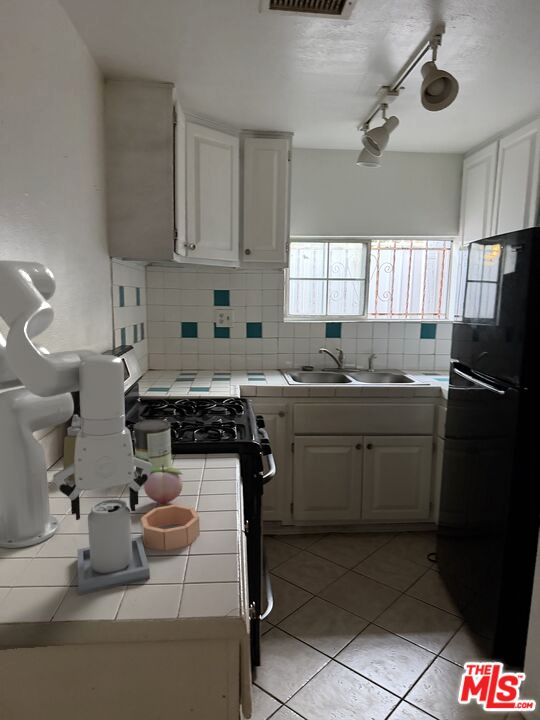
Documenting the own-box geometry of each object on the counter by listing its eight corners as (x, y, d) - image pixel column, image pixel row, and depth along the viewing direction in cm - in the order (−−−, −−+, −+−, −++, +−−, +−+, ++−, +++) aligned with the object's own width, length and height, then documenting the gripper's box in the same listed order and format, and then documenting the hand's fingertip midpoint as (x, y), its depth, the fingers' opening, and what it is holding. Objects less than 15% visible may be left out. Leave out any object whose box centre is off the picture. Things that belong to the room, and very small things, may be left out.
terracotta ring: (147, 554, 94) (146, 535, 94) (139, 528, 105) (138, 510, 104) (203, 542, 98) (203, 524, 98) (191, 518, 109) (190, 501, 108)
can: (120, 579, 85) (116, 516, 83) (82, 574, 87) (78, 512, 85) (139, 556, 92) (137, 498, 91) (104, 552, 94) (101, 494, 92)
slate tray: (79, 595, 82) (78, 584, 81) (78, 559, 93) (77, 549, 92) (149, 578, 86) (149, 568, 86) (140, 546, 97) (140, 536, 97)
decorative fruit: (184, 494, 121) (183, 457, 120) (183, 509, 113) (181, 469, 112) (146, 497, 120) (144, 459, 119) (142, 512, 112) (140, 471, 111)
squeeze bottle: (76, 485, 128) (71, 420, 125) (57, 479, 132) (52, 416, 129) (101, 475, 135) (97, 413, 132) (82, 469, 139) (78, 410, 136)
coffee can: (130, 478, 132) (128, 429, 130) (141, 464, 142) (139, 419, 140) (167, 478, 132) (165, 429, 130) (175, 465, 142) (174, 419, 140)
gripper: (49, 435, 79) (54, 530, 82) (155, 425, 85) (156, 514, 88) (51, 422, 86) (55, 510, 88) (148, 414, 92) (149, 496, 95)
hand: (105, 512), depth 88 cm, fingers open, 9 cm apart
